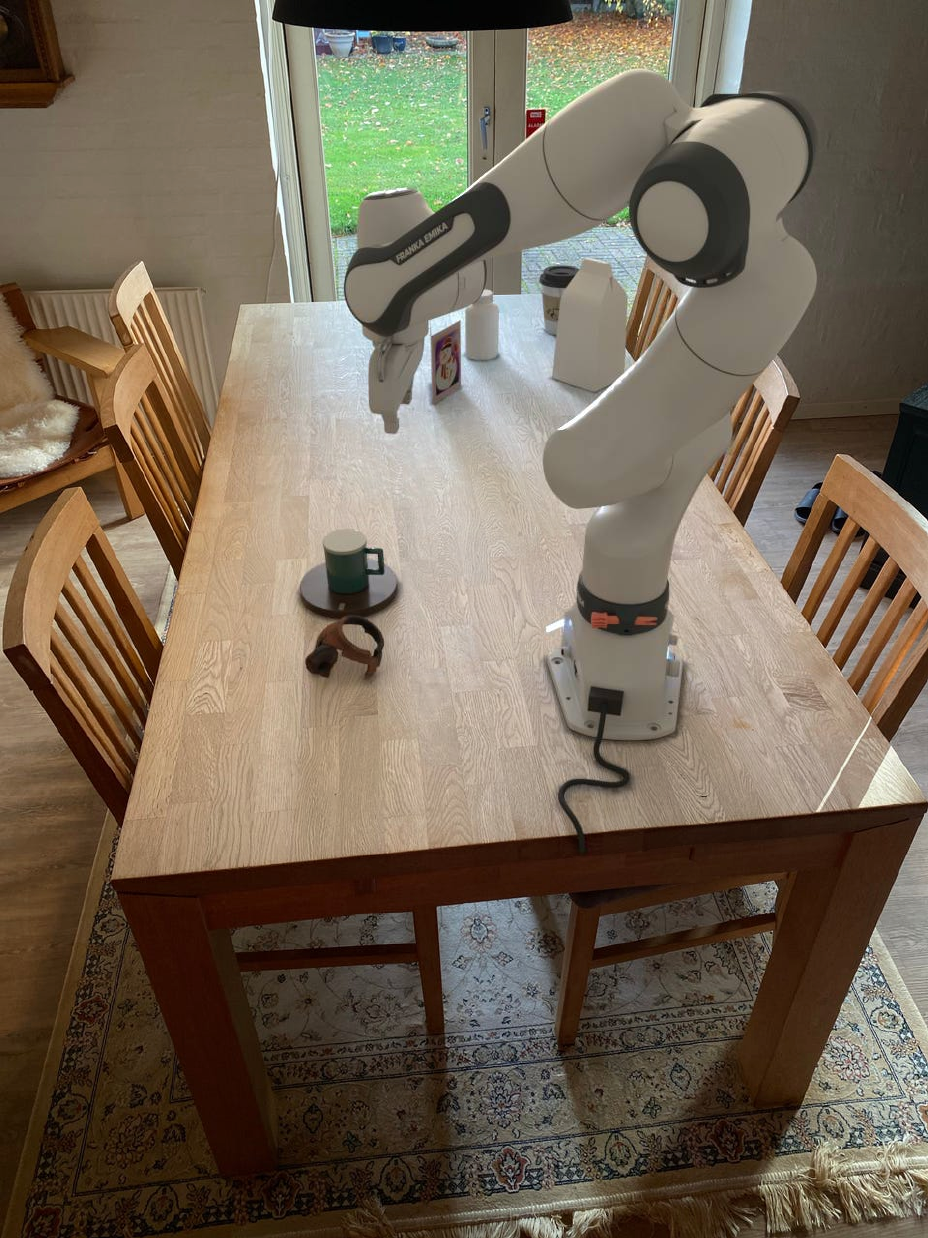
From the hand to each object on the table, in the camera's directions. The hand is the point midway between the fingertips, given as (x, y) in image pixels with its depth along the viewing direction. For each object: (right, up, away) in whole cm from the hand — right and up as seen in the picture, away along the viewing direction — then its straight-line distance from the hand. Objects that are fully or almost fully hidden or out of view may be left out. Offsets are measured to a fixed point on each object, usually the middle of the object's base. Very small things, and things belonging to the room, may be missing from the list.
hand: (398, 416), depth 132 cm
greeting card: (+3, +22, +76) cm, 79 cm away
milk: (+38, +27, +83) cm, 95 cm away
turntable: (-9, -24, +14) cm, 29 cm away
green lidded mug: (-7, -23, +13) cm, 27 cm away
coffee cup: (+34, +45, +108) cm, 122 cm away
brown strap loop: (-8, -36, -1) cm, 37 cm away
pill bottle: (+14, +35, +94) cm, 102 cm away
